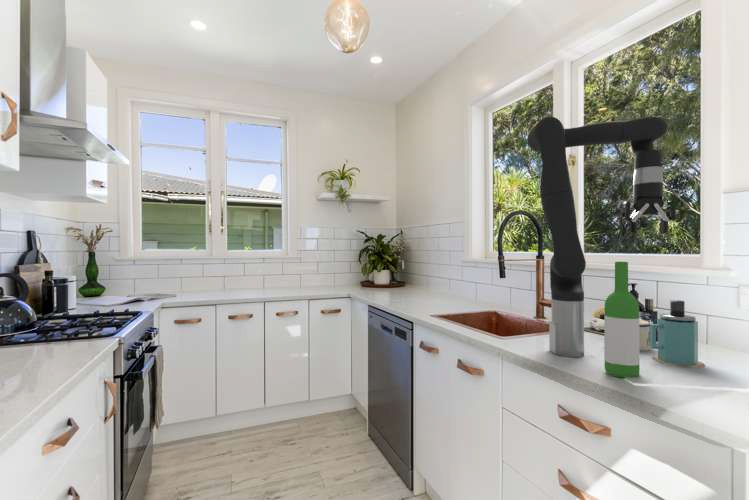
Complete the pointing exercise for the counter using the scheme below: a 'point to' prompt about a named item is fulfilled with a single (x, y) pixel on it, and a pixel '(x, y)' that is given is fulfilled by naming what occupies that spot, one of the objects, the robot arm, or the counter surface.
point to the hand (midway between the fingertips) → (648, 234)
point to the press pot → (676, 341)
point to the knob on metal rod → (677, 312)
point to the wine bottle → (621, 328)
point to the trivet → (679, 365)
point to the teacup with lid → (643, 334)
